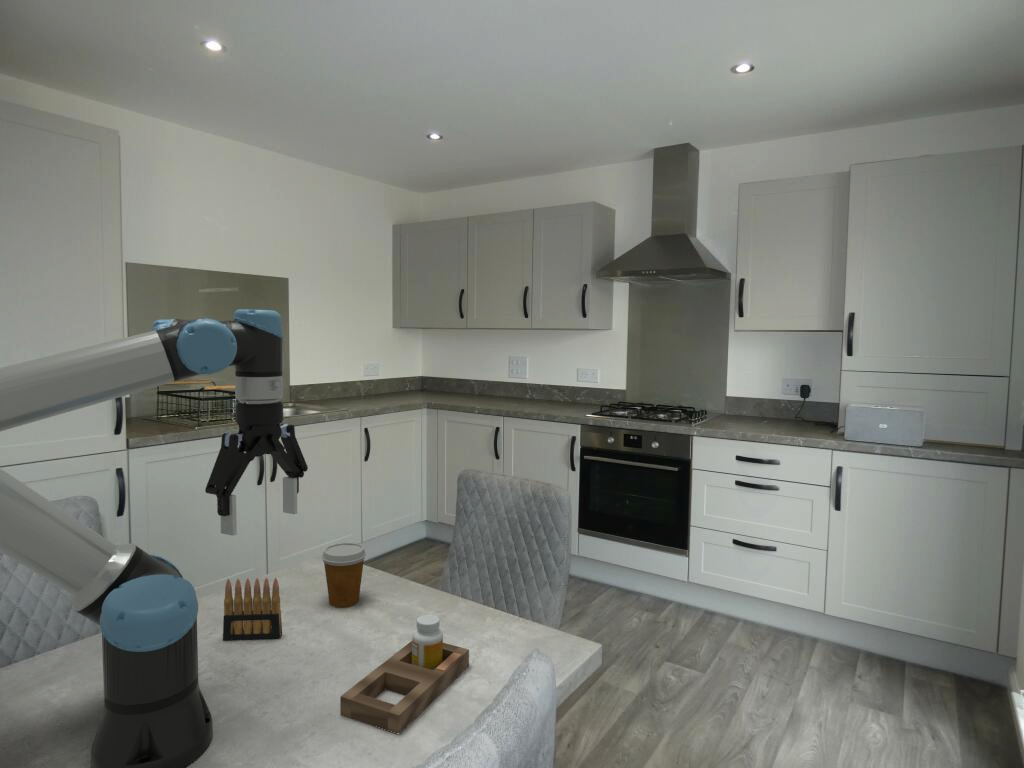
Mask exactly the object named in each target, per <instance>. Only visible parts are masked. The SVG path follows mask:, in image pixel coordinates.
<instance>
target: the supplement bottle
mask: <svg viewBox="0 0 1024 768" xmlns="http://www.w3.org/2000/svg"><path fill="white" fill-rule="evenodd" d="M411 641H412V665H416V666H419V667H423V668H426V669H430V670H435V669H436V668H437V667H438V666H439V665H440V664H441V663H442V656H443V643H444V634H443V631H442V629H441V628H440V618H439V617H438V616H437V615H434V614H423V615H420V616H418V617H417V619H416V629H415V630H414V631H413V633H412V638H411Z"/></svg>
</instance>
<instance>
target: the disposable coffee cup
mask: <svg viewBox="0 0 1024 768" xmlns="http://www.w3.org/2000/svg"><path fill="white" fill-rule="evenodd" d="M366 556H367V551H365V547H364V546H363V545H362V544H359V543H355V542H342V543H341V542H340V543H334V544H331V545H328V546H327V547H325V548H324V550H323V552H322V554H321V559H322V562H323V563H324V572H325V579H326V587H327V588H326V589H327V594H328V603H329V606H331V607H333V606H334V608H339V609H340V608H343V609H344V608H348V607H349V608H350V607H352V606H354V605H355V606H356V605H357V604H358V603H359V600H360V591H361V585H362V576H363V569H364V561H365V558H366ZM356 603H357V604H356Z"/></svg>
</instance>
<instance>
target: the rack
mask: <svg viewBox="0 0 1024 768" xmlns="http://www.w3.org/2000/svg"><path fill="white" fill-rule="evenodd" d="M468 666H470V649H469V648H465V647H461V646H458V645H453V644H450V643H447V642H443V656H442V663H441V664H440V665H439V666H438V667H437V668H436V669H435V670H430V669H426V668H423V667H419V666H416V665H412V640H411V641H409V643H407V644H406V645H404V646H403V647H402V648H401V649H400V650H398V651H397V652H395V653H394V654H393V655H392V656H390V657H389V658H388V659H386V660H385V661H384V662H383V663H381V664H380V665H378V666H377V667H376V668H374V670H372V671H371V672H370V673H368V674H367V675H366V676H364V677H363V678H362V679H361V680H359V681H358V682H357V683H356V684H355V685H353V686H352V687H350V688H349V689H347V690H346V691H345V692H344V693H343V694H341V695H340V696H339V697H340V698H339V701H340V703H339V705H340V707H339V711H340V712H339V713H340V716H344V717H346V718H350V719H352V720H355V721H358V722H361V723H363V724H366V725H369V724H370V726H372V725H373V726H372V727H375V726H377V727H376V728H378V727H380V728H379V729H381V728H383V729H382V730H384V729H386V730H385V731H387V730H389V731H388V732H390V731H392V732H391V733H393V732H395V733H394V734H396V733H400V732H401V731H402V730H403V729H404V728H405V727H406V726H407V725H408V724H409V723H410V722H411V723H412V722H413V721H414V720H415V719H417V717H418V716H420V714H421V713H422V712H423V711H424V710H425V709H426V708H427V707H429V705H430V704H431V703H433V702H434V700H435V699H436V698H437V697H438V696H440V694H442V693H443V691H445V690H446V688H448V686H450V685H451V683H453V681H454V680H455V679H457V678H458V677H459V676H460V675H461V674H462V673H463V672H464V671H465V670H466V669H467V667H468ZM463 670H464V671H463ZM461 672H462V673H461ZM459 674H460V675H459ZM458 675H459V676H458ZM457 676H458V677H457ZM456 677H457V678H456ZM385 690H388V691H392V692H394V693H398V694H400V695H403V694H404V695H403V698H401V699H400V700H399V701H398V702H397V703H396V704H393V703H390V702H387V701H385V700H382V699H378V698H377V696H378V695H380V694H381V693H382V692H383V691H385ZM423 709H424V710H423ZM411 723H410V724H411ZM410 724H409V725H410ZM409 725H408V726H409ZM408 726H407V727H408ZM407 727H406V728H407ZM406 728H405V729H406ZM405 729H404V730H405ZM404 730H403V731H404ZM403 731H402V732H403ZM402 732H401V733H402ZM401 733H400V734H401Z"/></svg>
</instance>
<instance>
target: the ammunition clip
mask: <svg viewBox="0 0 1024 768" xmlns="http://www.w3.org/2000/svg"><path fill="white" fill-rule="evenodd" d="M260 585H261V583H260V580H259V578H258V577H256V578H255V581H254V585H253V597H252V586H251V582H250V579H249V578H246V580H245V583H244V593H243V592H242V584H241V581H240V578H237V579H236V582H235V586H234V598H233V588H232V587H233V586H232V582H231V580H230V579H229V578H227V580H226V581H225V588H224V592H225V593H224V601H223V614H224V615H223V621H222V622H223V623H222V624H223V625H222V626H223V628H222V641H223V642H233V641H234V642H235V641H237V642H238V640H239V641H240V640H241V641H263V640H264V641H268V640H280V639H281V637H282V635H283V628H282V627H283V625H282V610H281V597H280V587H279V586H280V585H279V582H278V578H277V577H274V579H273V583H272V591H270V590H271V587H270V582H269V579H268V577H265V578H264V582H263V587H262V593H261V586H260ZM271 592H272V593H271ZM243 595H244V596H243Z"/></svg>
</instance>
